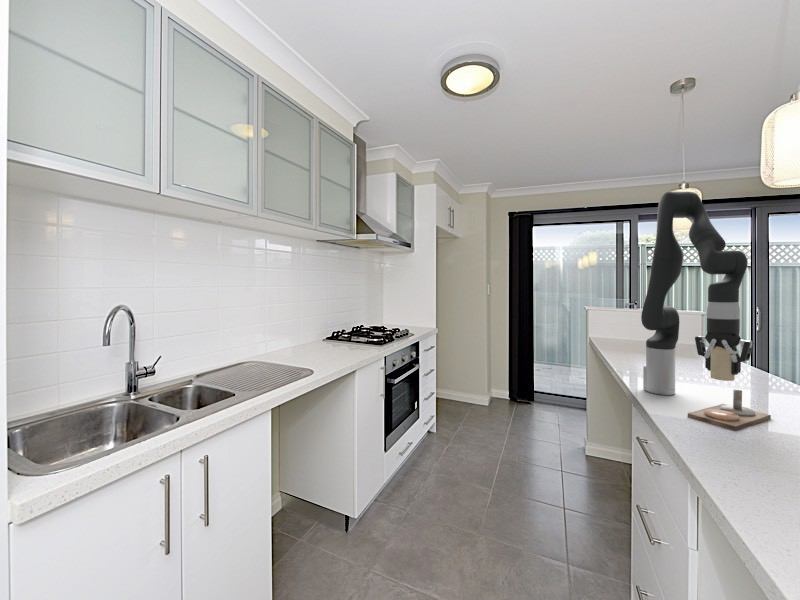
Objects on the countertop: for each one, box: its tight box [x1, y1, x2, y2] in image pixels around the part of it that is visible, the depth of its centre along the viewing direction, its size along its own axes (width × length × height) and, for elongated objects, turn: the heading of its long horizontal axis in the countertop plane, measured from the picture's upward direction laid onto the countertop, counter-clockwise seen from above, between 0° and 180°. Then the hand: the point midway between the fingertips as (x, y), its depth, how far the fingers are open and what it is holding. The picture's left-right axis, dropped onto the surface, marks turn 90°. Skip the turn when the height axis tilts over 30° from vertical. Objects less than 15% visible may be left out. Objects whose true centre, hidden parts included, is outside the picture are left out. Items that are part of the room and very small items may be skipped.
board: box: [687, 388, 772, 431], centre depth 113 cm, size 12×20×8 cm, turn 114°
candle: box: [709, 346, 736, 382], centre depth 111 cm, size 6×6×10 cm
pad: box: [705, 409, 739, 421], centre depth 111 cm, size 8×8×1 cm
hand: (722, 372), depth 111 cm, fingers closed on candle, 5 cm apart
